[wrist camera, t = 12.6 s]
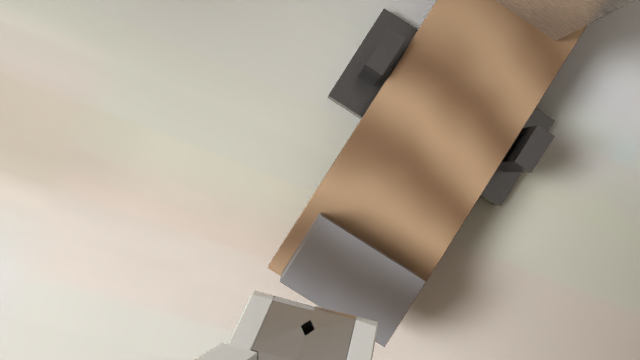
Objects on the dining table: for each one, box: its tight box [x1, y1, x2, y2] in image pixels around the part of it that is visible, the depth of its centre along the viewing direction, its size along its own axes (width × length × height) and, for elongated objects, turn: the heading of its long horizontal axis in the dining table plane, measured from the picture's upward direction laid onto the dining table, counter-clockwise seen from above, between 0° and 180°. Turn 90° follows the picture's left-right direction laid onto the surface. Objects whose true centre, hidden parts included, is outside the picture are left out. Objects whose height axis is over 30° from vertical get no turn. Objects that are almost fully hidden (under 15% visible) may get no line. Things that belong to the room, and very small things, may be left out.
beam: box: [268, 0, 587, 347], centre depth 35 cm, size 34×10×4 cm, turn 148°
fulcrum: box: [328, 9, 555, 206], centre depth 38 cm, size 8×16×6 cm, turn 57°
